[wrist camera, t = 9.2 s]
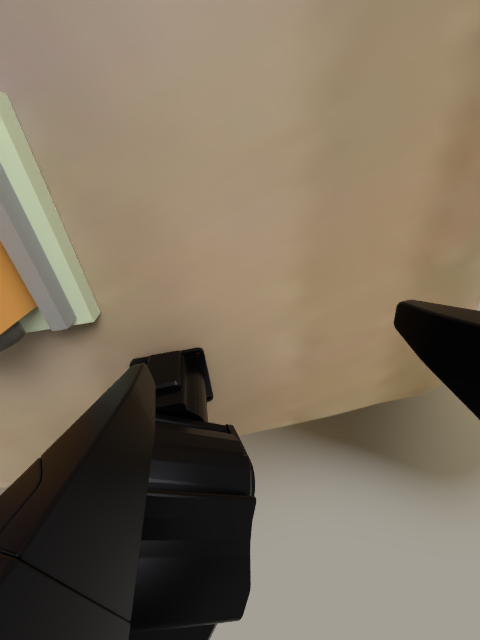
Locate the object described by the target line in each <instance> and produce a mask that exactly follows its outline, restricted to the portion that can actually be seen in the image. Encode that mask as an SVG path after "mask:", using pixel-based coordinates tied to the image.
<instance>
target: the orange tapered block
mask: <svg viewBox="0 0 480 640" xmlns="http://www.w3.org/2000/svg"><path fill="white" fill-rule="evenodd" d="M36 306H37V304H36V303H35V301H34V299H33V297H32V296H31V294H30V292H29V290H28V288H27V287H26V285H25V283H24V281H23V280H22V278H21V276H20V274H19V273H18V271H17V269H16V267H15V266H14V264H13V262H12V260H11V258H10V257H9V255H8V253H7V251H6V250H5V248H4V246H3V244H2V243H1V241H0V351H2V350H4V349H6V348H8V347H9V346H11V345H13V344H14V343H16V342H17V341H19V340H20V339H21V338H22V337H23V336H24V335H25V332H26V331H25V329H24V328H23V326H22V325H21V323H20V321H19V320H20V319H21V318H22V317H23V316H25V315H26V314H27V313H29V312H30V311H31V310H32V309H34V308H35V307H36Z"/></svg>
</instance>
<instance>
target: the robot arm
mask: <svg viewBox="0 0 480 640" xmlns="http://www.w3.org/2000/svg"><path fill="white" fill-rule="evenodd" d="M394 326H395V328H396V330H397V331H398V332H399V333H400V335H401V336H402V337H403V338H404V339H405V341H406V342H407V343H408V344H409V346H410V347H411V348H412V349H413V351H414V352H415V353H416V354H417V356H418V357H419V358H420V359H421V360H422V361H423V362H424V364H425V365H426V366H427V367H428V368H429V369H430V370H431V371H432V372H433V373H434V374H435V375H436V376H437V377H438V378H439V379H440V380H441V381H442V382H443V383H444V384H445V385H446V386H447V387H448V388H449V389H450V390H451V391H452V392H453V393H454V394H455V395H456V396H457V397H458V398H459V399H460V400H461V401H462V402H463V403H464V404H465V405H466V406H467V407H468V408H469V409H470V410H471V411H472V412H473V413H474V414H475V416H476V417H477V418H478V419H479V420H480V311H477V310H471V309H465V308H459V307H453V306H447V305H441V304H435V303H429V302H423V301H417V300H407V301H402V302H400V303H398V305H397V307H396V313H395V318H394ZM198 352H199V353H201V354H196V353H198ZM134 364H137V365H134ZM207 396H209V397H207ZM212 399H213V392H212V388H211V383H210V378H209V373H208V368H207V364H206V359H205V354H204V350H203V349H202V348H193V349H188V350H182V351H173V352H167V353H162V354H156V355H151V356H148V357H143V358H137V359H133V360H132V361H131V363H130V368H129V369H128V370H127V371H126V372H125V373H124V374H123V375H122V376H121V377H120V378H119V379H118V380H117V381H116V382H115V383H114V384H113V385H112V386H111V387H110V388H109V389H108V390H107V391H106V392H105V393H104V394H103V395H102V396H101V397H100V398H99V399H98V400H97V401H96V402H95V403H94V404H93V405H92V406H91V407H90V408H89V409H88V410H87V411H86V412H85V413H84V414H83V415H82V416H81V417H80V418H79V419H78V420H77V421H76V422H75V423H74V424H73V425H72V426H71V427H70V428H69V429H68V430H67V431H66V432H65V433H64V434H63V435H62V436H61V437H60V438H59V439H58V440H57V441H56V442H54V443H53V444H52V445H51V446H50V447H49V448H48V449H47V450H46V451H45V452H44V453H43V454H42V456H41V458H38V459H37V460H36V461H35V462H34V463H33V464H32V465H31V466H30V467H29V468H28V469H27V470H26V471H25V472H24V473H23V474H22V475H21V476H20V477H19V478H18V479H17V480H16V481H15V482H14V483H13V484H12V485H11V486H10V487H9V488H8V489H7V490H5V491H4V492H3V493H2V494H1V495H0V640H209V639H210V637H211V635H212V633H213V631H214V629H215V627H216V625H217V623H224V622H232V621H239V620H240V619H241V618H242V616H243V613H244V610H245V606H246V603H247V600H248V596H249V592H250V585H251V583H250V538H251V527H252V519H253V514H254V510H255V505H256V498H255V497H254V493H255V477H254V471H253V466H252V463H251V461H250V459H249V457H248V455H247V453H246V451H245V449H244V447H243V444H242V442H241V440H240V438H239V436H238V434H237V432H236V430H235V428H234V426H233V425H228V424H226V425H220V424H214V423H208V416H207V402H209V401H211V400H212Z"/></svg>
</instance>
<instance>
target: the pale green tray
mask: <svg viewBox="0 0 480 640" xmlns="http://www.w3.org/2000/svg"><path fill="white" fill-rule="evenodd" d="M0 241H1V243H2V244H3V246H4V248H5V250H6V251H7V253H8V255H9V257H10V258H11V260H12V262H13V264H14V266H15V267H16V269H17V271H18V273H19V274H20V276H21V278H22V280H23V281H24V283H25V285H26V287H27V288H28V290H29V292H30V294H31V296H32V297H33V299H34V301H35V303H36V304H37V306H36V307H35V308H34V309H32V310H31V311H30V312H29V313H27V314H26V315H25V316H23V317H22V318H21V319H20V320H19V321H20V323H21V325H22V326H23V328H24V329H25V331H26V332H25V333H28V332H35V331H41V330H47V329H51V331H58V330H64V329H68V328H69V327H70V326H72V325H78V324H85V323H91V322H94V321H95V320H96V319H97V317H98V316H99V314H100V313H101V312H100V310H99V308H98V305H97V303H96V301H95V298H94V296H93V294H92V291H91V289H90V287H89V284H88V282H87V280H86V277H85V275H84V273H83V270H82V268H81V266H80V263H79V261H78V259H77V257H76V254H75V252H74V250H73V247H72V245H71V243H70V240H69V238H68V236H67V233H66V231H65V229H64V226H63V224H62V222H61V219H60V217H59V215H58V212H57V210H56V208H55V205H54V203H53V201H52V198H51V196H50V194H49V191H48V189H47V187H46V184H45V182H44V180H43V177H42V175H41V173H40V170H39V168H38V166H37V163H36V161H35V159H34V156H33V154H32V152H31V149H30V147H29V145H28V142H27V140H26V138H25V135H24V133H23V131H22V128H21V126H20V124H19V121H18V119H17V117H16V114H15V112H14V110H13V107H12V105H11V103H10V100H9V98H8V96H7V94H5V93H3V92H1V91H0Z"/></svg>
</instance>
